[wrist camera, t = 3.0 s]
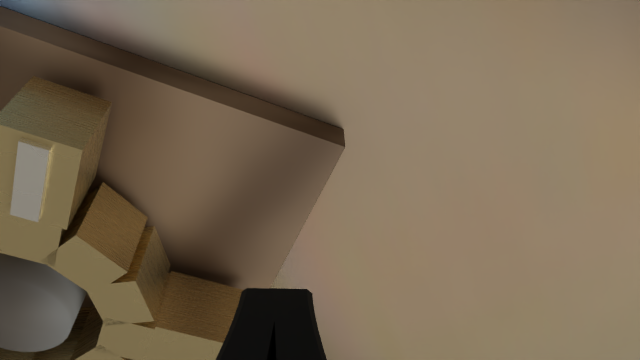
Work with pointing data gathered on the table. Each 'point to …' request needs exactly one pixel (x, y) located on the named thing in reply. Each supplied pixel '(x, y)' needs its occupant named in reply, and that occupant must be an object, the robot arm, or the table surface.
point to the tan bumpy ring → (96, 238)
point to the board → (167, 171)
